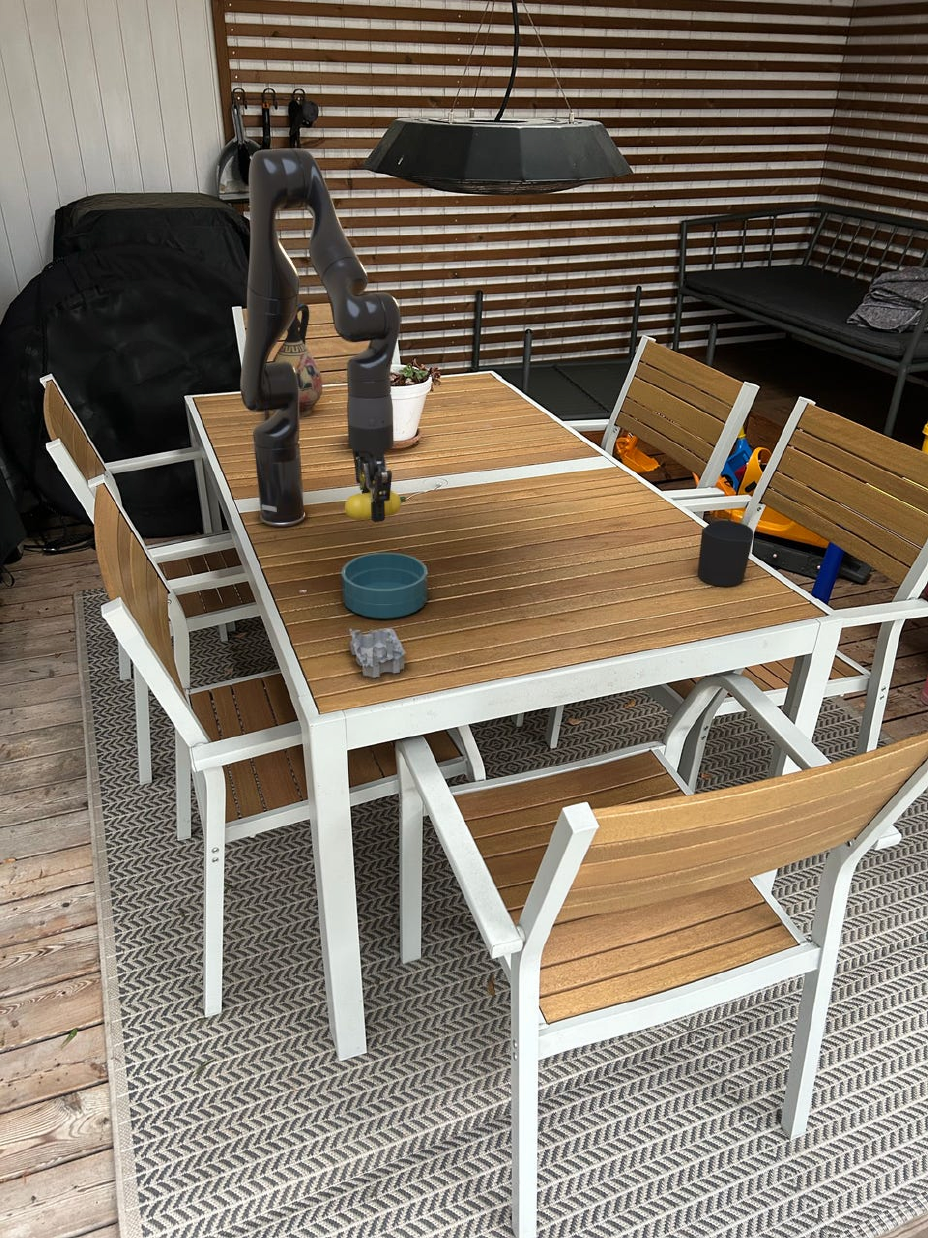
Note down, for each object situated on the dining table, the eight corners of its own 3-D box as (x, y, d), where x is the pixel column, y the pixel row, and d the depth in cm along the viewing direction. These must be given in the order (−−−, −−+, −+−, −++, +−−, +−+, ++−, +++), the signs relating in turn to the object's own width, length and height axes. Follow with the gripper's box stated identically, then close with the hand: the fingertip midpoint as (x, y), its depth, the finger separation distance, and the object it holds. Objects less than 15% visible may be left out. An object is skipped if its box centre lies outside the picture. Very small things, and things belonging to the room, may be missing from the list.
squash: (349, 525, 162) (348, 501, 159) (342, 516, 165) (340, 492, 163) (409, 516, 165) (409, 493, 163) (400, 507, 169) (400, 484, 167)
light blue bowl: (327, 596, 173) (325, 566, 170) (395, 574, 182) (395, 545, 179) (373, 629, 163) (372, 598, 160) (443, 604, 171) (444, 574, 168)
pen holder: (753, 586, 180) (762, 538, 175) (707, 590, 178) (715, 542, 173) (731, 565, 188) (740, 518, 183) (687, 568, 186) (694, 521, 181)
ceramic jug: (300, 424, 260) (293, 312, 245) (257, 415, 267) (247, 305, 252) (338, 409, 273) (333, 301, 258) (296, 400, 280) (289, 295, 265)
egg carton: (347, 648, 158) (346, 626, 156) (391, 641, 160) (391, 620, 158) (362, 681, 149) (361, 658, 147) (408, 673, 151) (408, 651, 149)
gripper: (406, 429, 152) (408, 527, 161) (377, 405, 164) (380, 498, 172) (362, 435, 150) (365, 534, 158) (335, 410, 161) (340, 504, 169)
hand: (373, 515), depth 165 cm, fingers closed on squash, 4 cm apart
